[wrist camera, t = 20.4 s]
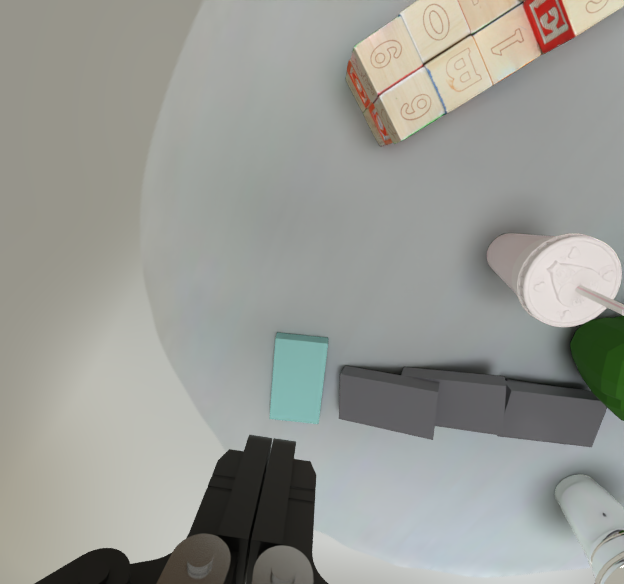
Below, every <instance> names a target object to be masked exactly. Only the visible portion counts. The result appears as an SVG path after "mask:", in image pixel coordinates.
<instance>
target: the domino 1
mask: <svg viewBox="0 0 624 584" xmlns="http://www.w3.org/2000/svg"><path fill="white" fill-rule="evenodd" d="M327 349H328V338H326V337H316V336H307V335H297V334H287V333H278V332H277V335H276V339H275V352H274V365H273V379H272V392H271V406H270V419H276V420H285V421H295V422H304V423H313V424H318V423H319V415H320V407H321V399H322V390H323V382H324V374H325V365H326V357H327Z"/></svg>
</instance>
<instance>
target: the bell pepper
mask: <svg viewBox="0 0 624 584" xmlns="http://www.w3.org/2000/svg"><path fill="white" fill-rule="evenodd" d="M570 348H571V352H572V357H573V360H574V362H575V363H576V365H577V368H578V371H579V373H580V374H581V376H582V378H583V380H584V381H585V382H586V384H587V385H588V387H589V388H590V390H591V391H592V393H593V394H594V395H595V396H596V397H597V398H598V399H599V400H600V401H601V402H602V403H603V404H604V405H605V406H606V407H607V408H608V409H610V410H611V411H612V412H613V413H614V414H615V415H616V416H617V417H619V418H620V419H621V420H623V421H624V316H618V317H614V318H609V317H606V318H601V319H595V320H590V321H588V322H586V323H584V324H583V325H582V326H581V327H580V328H579V329H577V330H576V332H575V334H574V336H573V338H572V340H571V343H570Z"/></svg>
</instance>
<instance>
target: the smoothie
mask: <svg viewBox="0 0 624 584" xmlns="http://www.w3.org/2000/svg"><path fill="white" fill-rule="evenodd" d="M487 262H488V264H489V266H490V267H491V268H492V269H493V270H494V271H495V272H496V273H497V275H498V276H499V277H500V278H501V279H502V280H503V281H504V282H505V283H506V284H507V285H508V286H509V287H510V288H511V289H512V290H513V291H514V292H515V293H516V295H517V296H518V298H519V300H520V303H521V305H522V307H523V308H524V309H525V310H526V311H527V312H528V314H529V315H531V316H533V317H534V318H536V319H538V320H540V321H541V322H543V323H545V324H548V325H551V326H555V327H572V326H577V325H581V324H584V323H586V322H588V321H590V320H592V319H594V318H595V317H597V316H598V315H600V314H601V313H602V312H603V311H604V310H605V309H606V308H609V309H611V310H613V311H615V312H617V313H619V314H621V315H623V316H624V304H622V303H619V302H617V301H615V300H614V298H615V296H616V295H617V292H618V290H619V287H620V284H621V279H622V268H621V263H620V260H619V258H618V256H617V254H616V253H615V251H614V250H613V249H612V248H611V247H610V246H609V245H608V244H606V243H605V242H603V241H601V240H599V239H596V238H594V237H591V236H588V235H584V234H564V235H560V236H543V235H530V234H516V233H507V234H503V235H501V236H499V237H497V238H496V239H495V240H494V241H493V242H492V243H491V244H490V246H489V248H488V251H487Z"/></svg>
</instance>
